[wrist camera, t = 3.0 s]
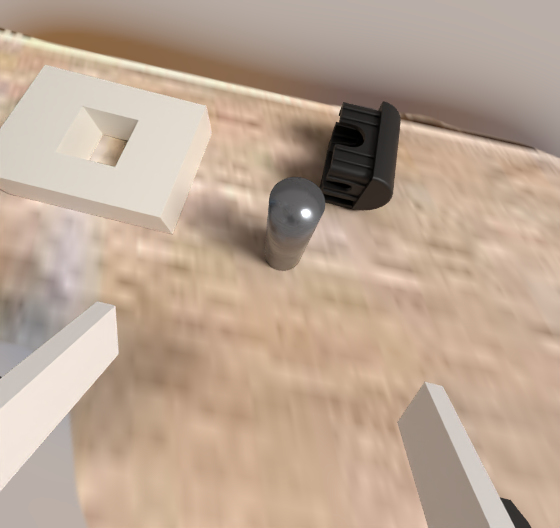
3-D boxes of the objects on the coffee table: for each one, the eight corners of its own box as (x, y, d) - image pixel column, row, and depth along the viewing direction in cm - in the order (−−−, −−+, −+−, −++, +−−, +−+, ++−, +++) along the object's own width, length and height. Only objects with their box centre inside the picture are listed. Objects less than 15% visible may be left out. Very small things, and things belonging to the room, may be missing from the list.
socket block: (8, 193, 29) (-29, 170, 25) (68, 97, 33) (45, 64, 30) (172, 234, 29) (160, 217, 26) (211, 133, 34) (206, 106, 30)
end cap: (374, 218, 32) (404, 186, 26) (316, 204, 32) (331, 168, 26) (383, 151, 35) (411, 106, 29) (330, 137, 35) (346, 90, 29)
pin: (260, 265, 29) (263, 219, 19) (269, 232, 30) (276, 171, 20) (296, 274, 29) (319, 233, 19) (304, 241, 30) (329, 184, 20)
